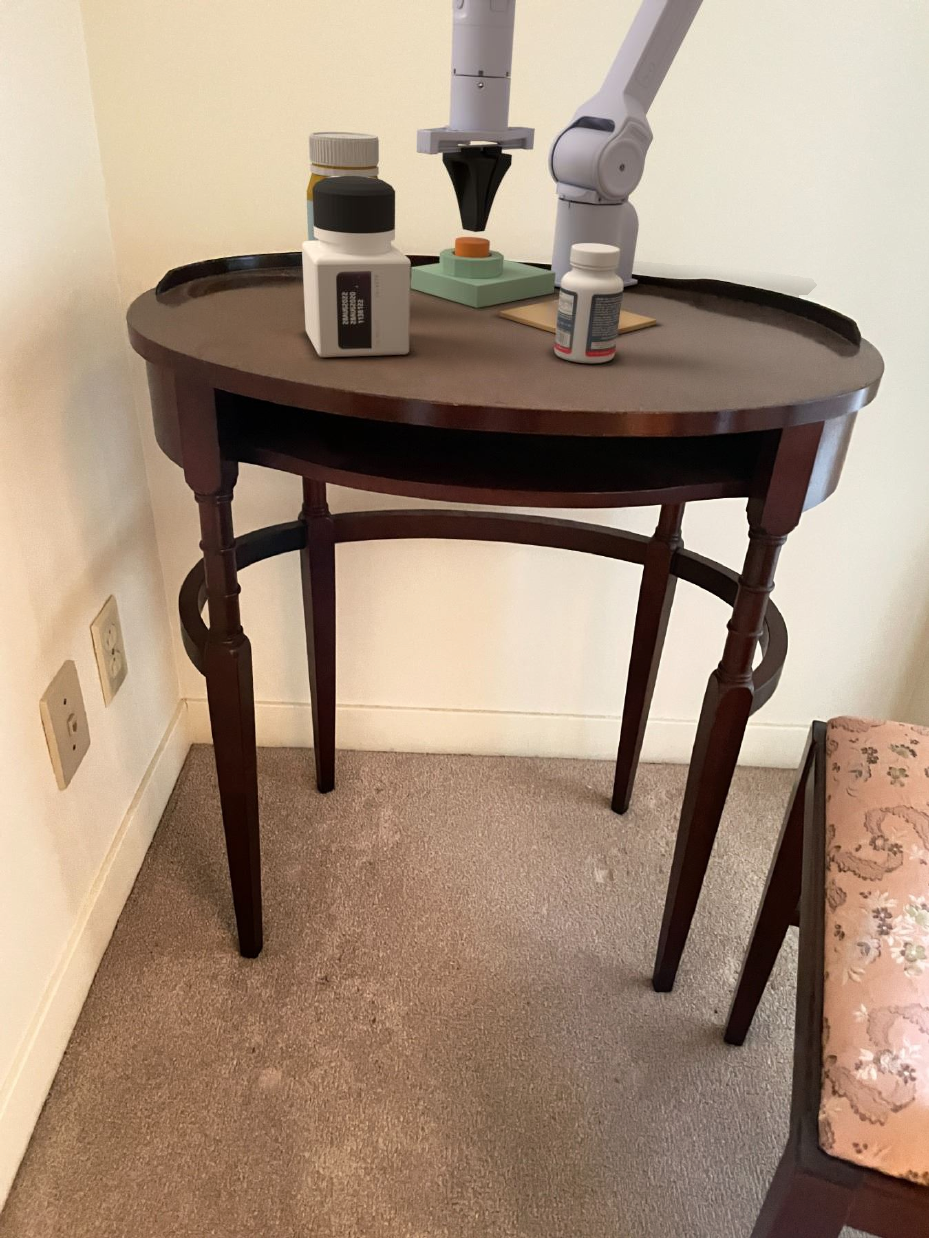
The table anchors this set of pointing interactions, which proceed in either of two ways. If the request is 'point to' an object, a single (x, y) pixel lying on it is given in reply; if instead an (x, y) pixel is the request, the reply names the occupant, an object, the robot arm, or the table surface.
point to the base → (481, 279)
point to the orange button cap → (472, 247)
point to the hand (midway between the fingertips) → (473, 230)
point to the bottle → (339, 161)
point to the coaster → (548, 311)
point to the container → (355, 271)
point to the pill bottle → (589, 305)
